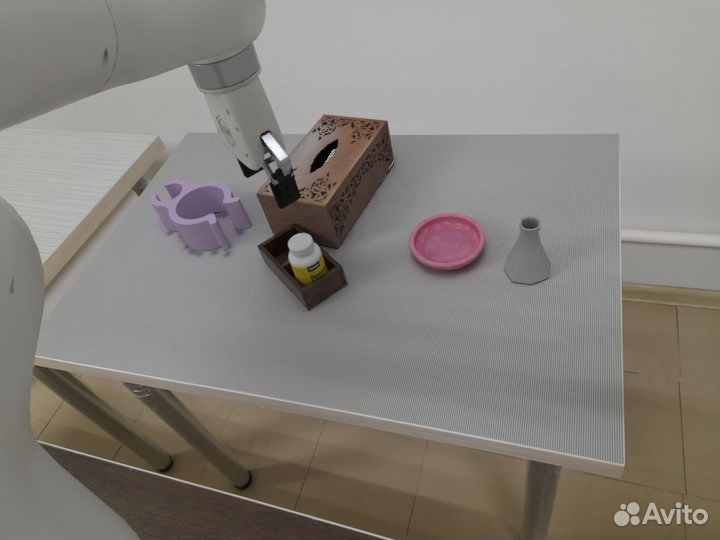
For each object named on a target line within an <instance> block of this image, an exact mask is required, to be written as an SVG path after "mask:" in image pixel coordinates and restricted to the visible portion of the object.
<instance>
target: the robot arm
mask: <svg viewBox="0 0 720 540" xmlns="http://www.w3.org/2000/svg"><path fill="white" fill-rule="evenodd" d="M266 3H267V2H266V0H0V132H1V131H4V130H7V129H9V128H12V127H15V126H17V125H20V124H22V123H25V122H28V121H30V120H33V119H36V118H38V117H40V116H43V115H47V114H48V113H50V112H53V111H55V110H59V109H61V108H63V107H66V106H68V105H71V104H74V103H76V102H79V101H81V100H84V99H88V98H89V97H92V96H95V95H97V94H101V93H103V92H106V91H109V90H112V89H115V88H118V87H122V86H125V85H130V84H135V83H138V82H141V81H144V80H147V79H150V78H154V77H157V76H160V75H162V74H164V73H168V72H171V71H173V70H176V69H178V68H181V67H184V66H187V68H188V70H189V72H190V74H191V77H192V79H193V81H194V83H195V86H196V88H197V90H198V91H199V92H200V93H202V94H203V96H204V99H205V102H206V104H207V108H208V110H209V112H210V115H211V118H212V120H213V123H214V126H215V129H216V131H217V133H218V136H219V139H220V141H221V143H222V145H223V146H224V147H225V148H226V149H227V151H229V152H230V153H231V154H232V155H233V156H234V157H235V158H236V160H237V163H238V165H239V167H240V170H241V172H242V174H243V177H245V178H246V179H249V178H251V177H253V176H255V175H256V174H258V173H260V172H261V171H264V172H265V174H266V176H267V178H268V179H270V181H271V182H270V183H269V185H270V188H271V190H272V193H273V195H274V198H275V201H276V203H277V206H278V207H279V208H280V209H283V208H285V207H286V206H288V205H290V204H291V203H293V202H295V201H297V200H298V199H300V197H301V195H300V192H299V189H298V187H297V184H296V181H295V178H294V172H293V168H292V165H291V159H290V157H289V155H288V153H287V152H286V151H287V148H286V144H285V141H284V137H283V134H282V131H281V128H280V126H279V123H278V120H277V117H276V115H275V112H274V109H273V107H272V104H271V102H270V99H269V98H268V95H267V92H266V90H265V88H264V87H263V84H262V82H261V79H260V77H259V76H260V75H261V73H262V64H261V62H260V59H259V55H258V53H257V50H256V48H255V45H254V42H256V40H258V38H259V36H260V35H261V33H262V31H263V29H264V25H265V22H266V21H265V20H266V15H267V4H266ZM268 153H269V154H270V156H269V157H267V158H265V155H267V154H268ZM274 162H275V163H276V167H277V168H276V169H275V170H274V171H273V170H272V167H271V166H270V165H271V164H273V163H274ZM274 172H275V173H274ZM45 297H46V283H45V272H44V266H43V262H42V258H41V253H40V250H39V247H38V245H37V242H36V241H35V238H34V235H33V234H32V231H31V230H30V227H29V225H28V224H27V223H26V221H25V220H24V219H23V218H22V216H21V215H20V214H19V212H18V211H17V210H16V208H15V207H14V206H13V205H12V204H11V203H10V202H8V201H7V200H6V199H5V198H4V197H2V196H1V195H0V540H141V539H140V537H139V535H138V534H137V533H136V532H135V530H134V529H133V528H132V527H131V526H130V525H129V523H128V522H127V521H126V520H125V518H123V517H122V516H121V515H120V514H119V513H117V512H116V511H115V510H114V509H112V508H111V507H110V505H107V503H105V502H104V501H103V500H102V498H99V496H97V495H96V494H95V493H94V492H92V491H91V490H90V489H89V488H87V486H86V485H84V483H82V482H81V481H80V480H78V479H77V478H76V477H75V476H73V475H72V474H71V473H70V472H69V471H68V470H66V469H65V468H64V467H63V466H62V465H61V464H59V463H58V461H56V460H55V458H54V457H53V456H52V455H51V454H50V452H48V451H47V450H46V449H45V448H44V447H43V446H42V444H40V442H39V441H38V439H37V437H36V436H35V433H34V429H33V427H32V424H31V422H32V421H31V396H32V380H33V375H34V368H35V367H34V366H35V360H36V354H37V353H36V352H37V347H38V342H39V336H40V331H41V325H42V320H43V316H44V308H45Z"/></svg>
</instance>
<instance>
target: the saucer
mask: <svg viewBox="0 0 720 540" xmlns="http://www.w3.org/2000/svg"><path fill="white" fill-rule="evenodd" d="M485 243H486V236H485V231H484V229H483V227H482V226H481V224H480V223H479V222H478V221H477V220H475V219H474V218H472V217H471V216H468V215H465V214H462V213H456V212H445V213H438V214H434V215H431V216H430V217H427V218H424V219H423V220H422V221H421V222H420V223H419V224H417V225H416V226H415V228H414V229H413V230H412V232H411V234H410V237H409V247H410V248H409V249H410V250H411V251H410V252H411V253H412V255H413V257H414V258H415V259H416V261H418V262H419V263H420V264H422V265H423V266H425V267H428V268H431V269H434V270H438V271H454V270H458V269H461V268H463V267H466V266H468V265H469V264H471V263H472V262H474V261H475V260H476V259H477V258H478V257H479V256H480V254H481V253H482V252H483V250H484V247H485Z"/></svg>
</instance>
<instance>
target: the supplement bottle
mask: <svg viewBox="0 0 720 540" xmlns="http://www.w3.org/2000/svg"><path fill="white" fill-rule="evenodd" d="M288 247H289V250H290V252H289V255H288V258H289V262H290V264H291V267H292V269H293V272H294V274H295V277H296V279H297V282H298V284H299V285H300V286H301V287H302V288H304V287H305V286H307V285H308V284H310V283H311V282H313V281H314V280H316V279H317V278H319V277H320V276H322V275H324V274H325V273H327V272H328V271H327V267H326V264H325V262H324V258H323V255H322V252H321V250H320V247H319V246H318V245H317V244H316V243H314V242H313V239H312V237H311V236H310V235H309V234H307V233H299V234H296V235H294V236H293V237H291V238H290V240H289V241H288Z"/></svg>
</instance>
